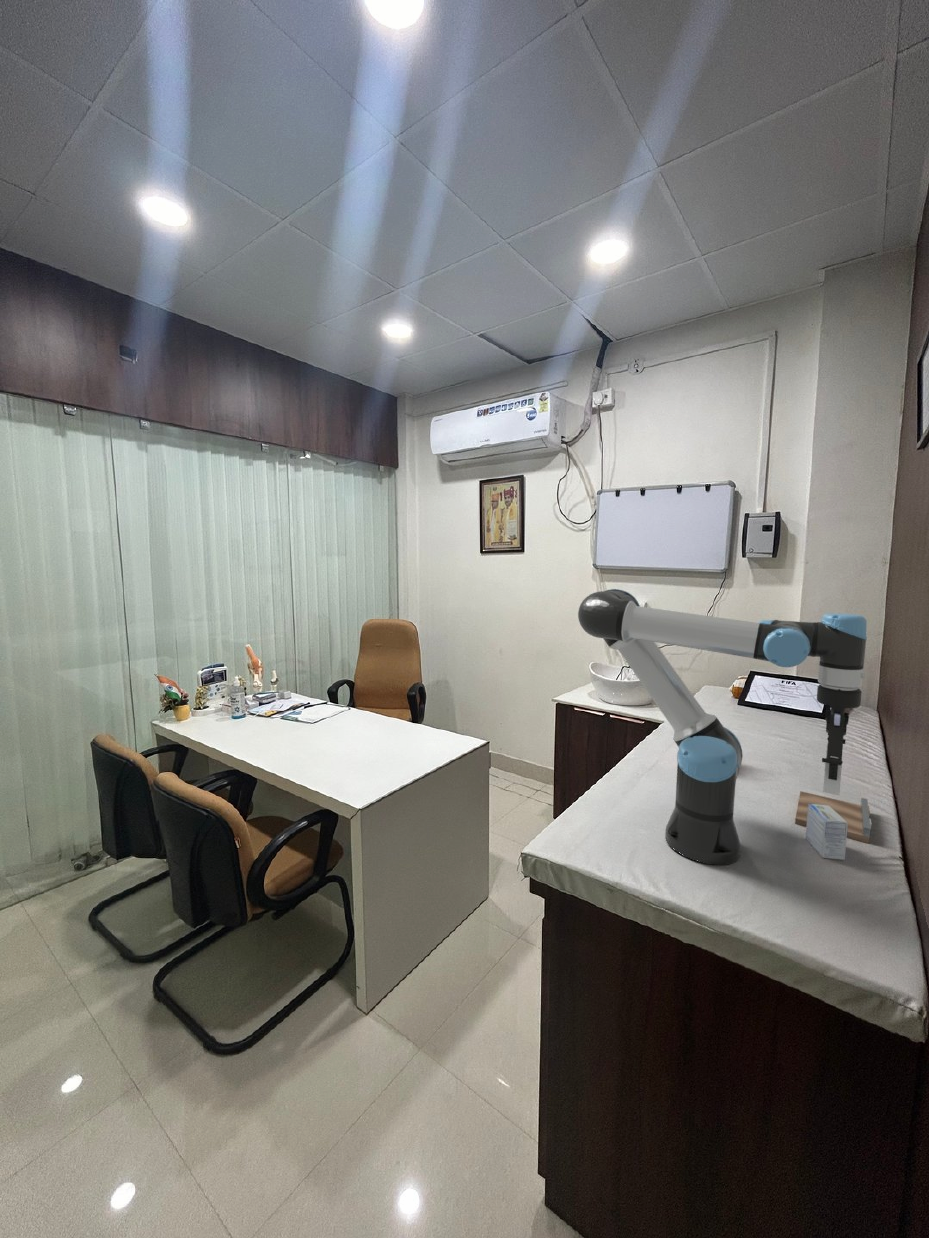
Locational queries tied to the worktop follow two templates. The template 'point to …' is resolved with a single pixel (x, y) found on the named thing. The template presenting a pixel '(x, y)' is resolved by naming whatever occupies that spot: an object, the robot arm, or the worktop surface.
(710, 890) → the worktop surface
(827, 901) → the worktop surface
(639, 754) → the worktop surface
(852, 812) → the shelf board
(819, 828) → the medicine box
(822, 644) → the robot arm
